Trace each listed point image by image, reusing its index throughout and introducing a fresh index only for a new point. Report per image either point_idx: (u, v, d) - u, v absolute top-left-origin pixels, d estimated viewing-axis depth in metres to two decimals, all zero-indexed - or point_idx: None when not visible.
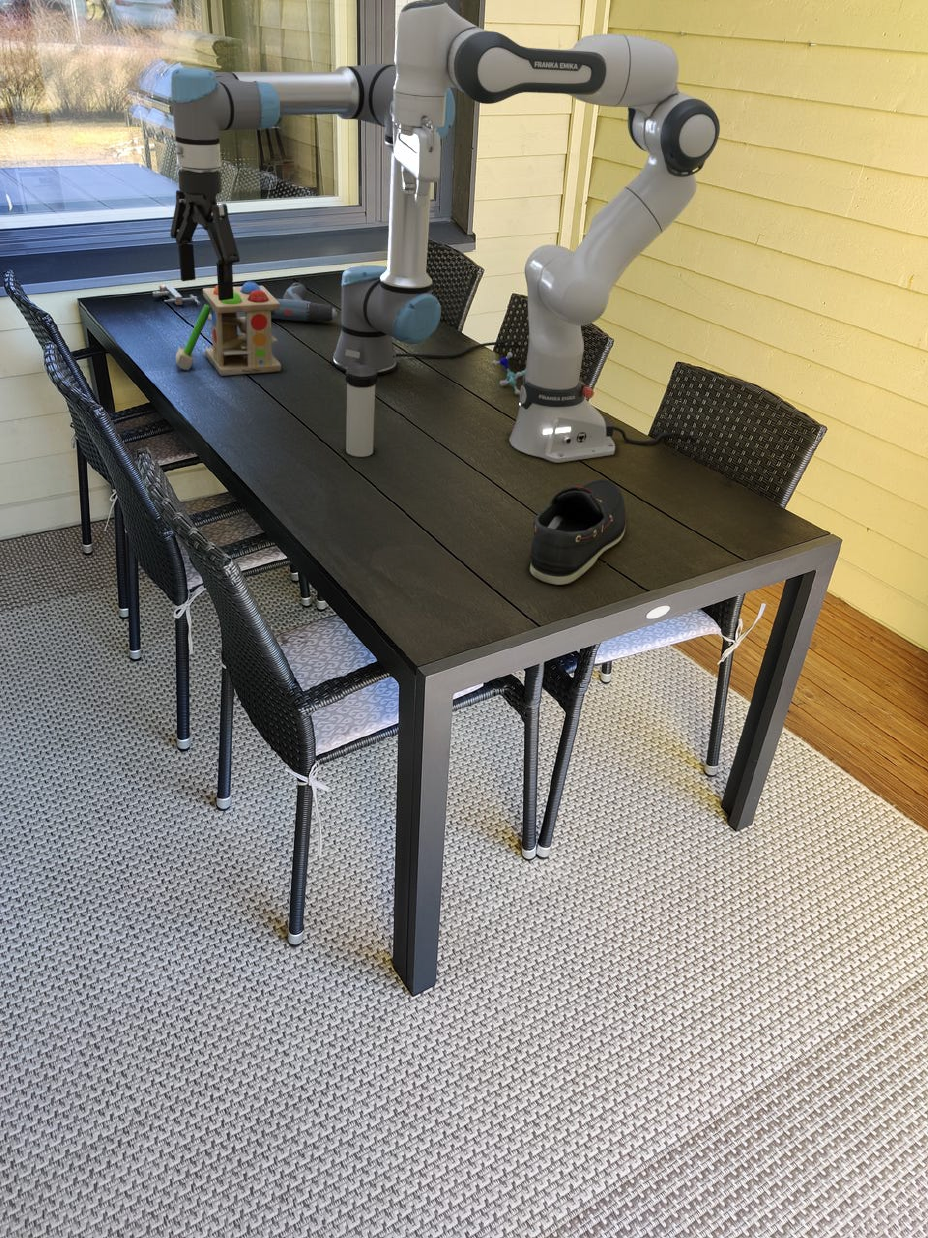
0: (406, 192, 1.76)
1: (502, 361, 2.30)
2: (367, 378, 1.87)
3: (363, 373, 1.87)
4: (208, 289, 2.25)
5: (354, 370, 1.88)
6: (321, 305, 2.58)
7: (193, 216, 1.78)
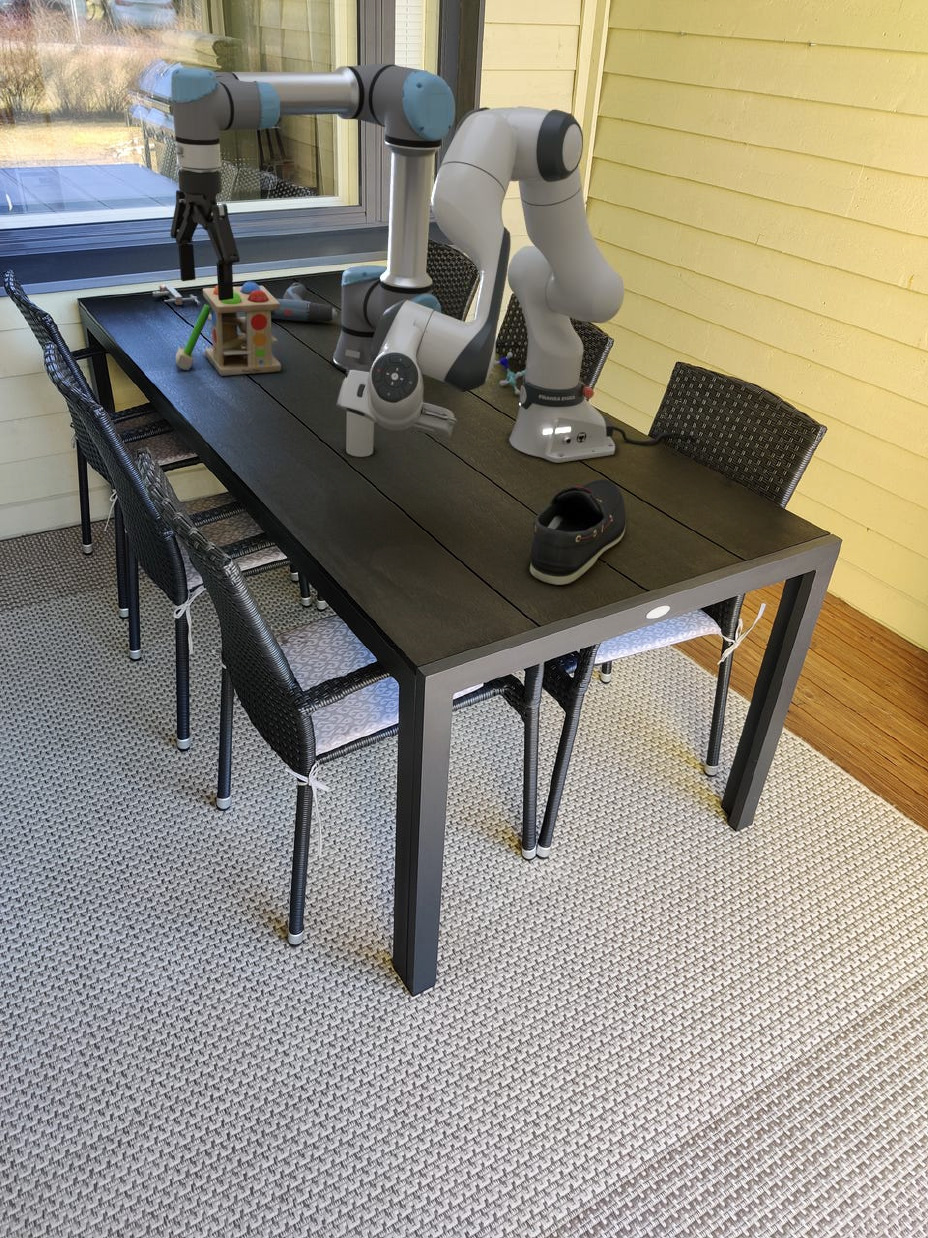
0: None
1: (502, 361, 2.30)
2: None
3: None
4: (208, 289, 2.25)
5: None
6: (321, 305, 2.58)
7: (193, 216, 1.78)
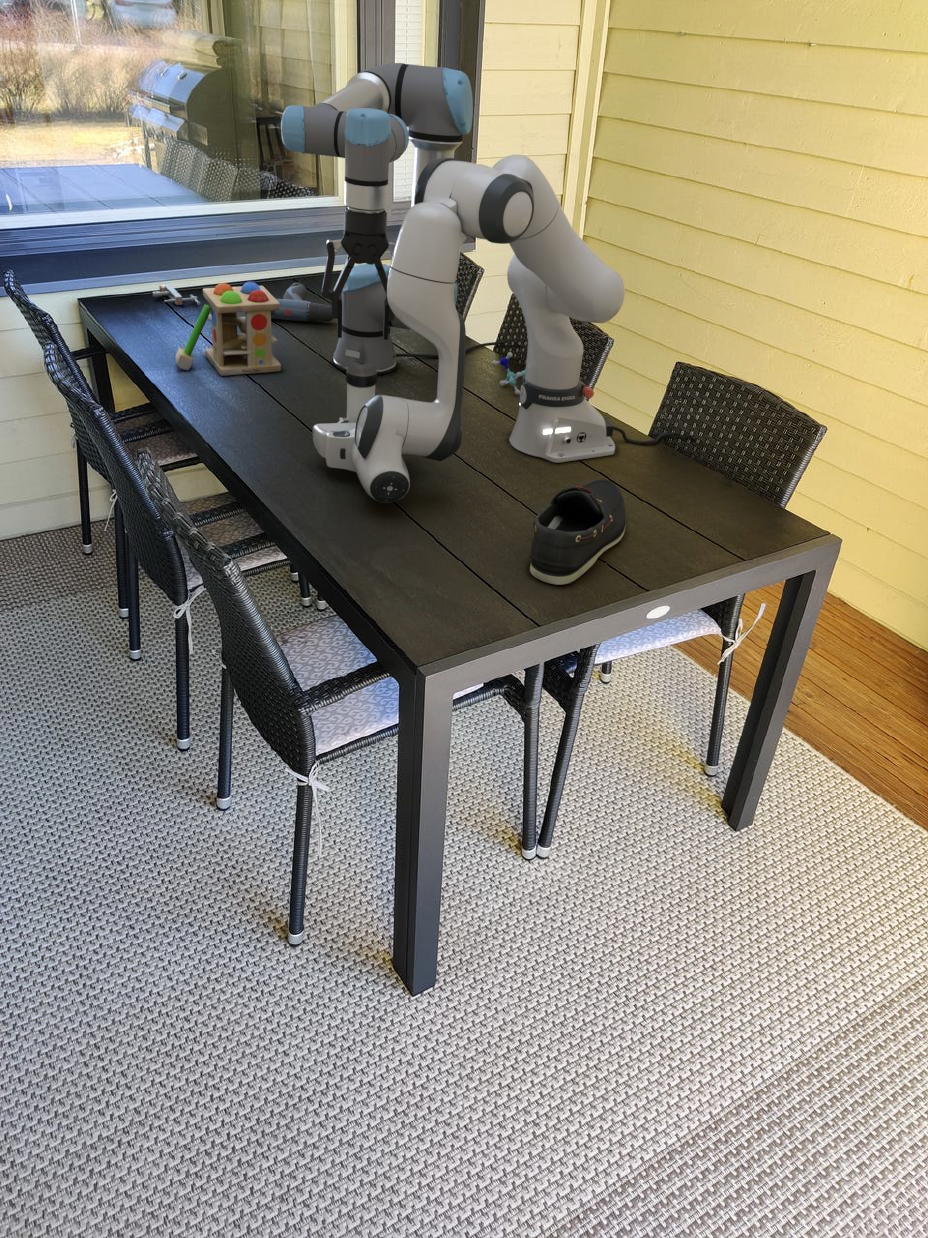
0: None
1: (502, 361, 2.30)
2: (367, 378, 1.87)
3: (363, 373, 1.87)
4: (208, 289, 2.25)
5: (354, 370, 1.88)
6: (321, 305, 2.58)
7: None
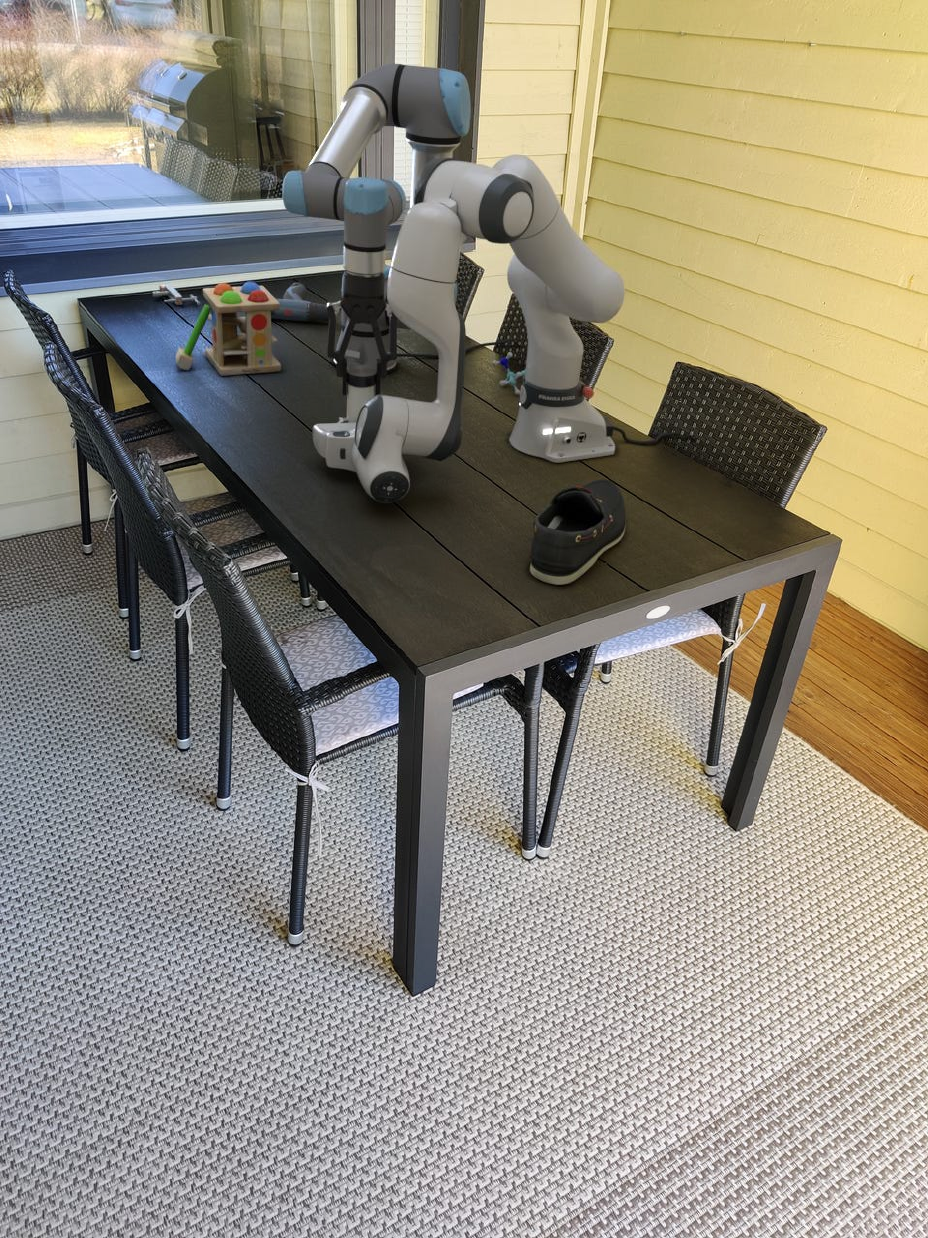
0: None
1: (502, 361, 2.30)
2: (367, 378, 1.87)
3: (363, 373, 1.87)
4: (208, 289, 2.25)
5: (354, 370, 1.88)
6: (321, 305, 2.58)
7: None
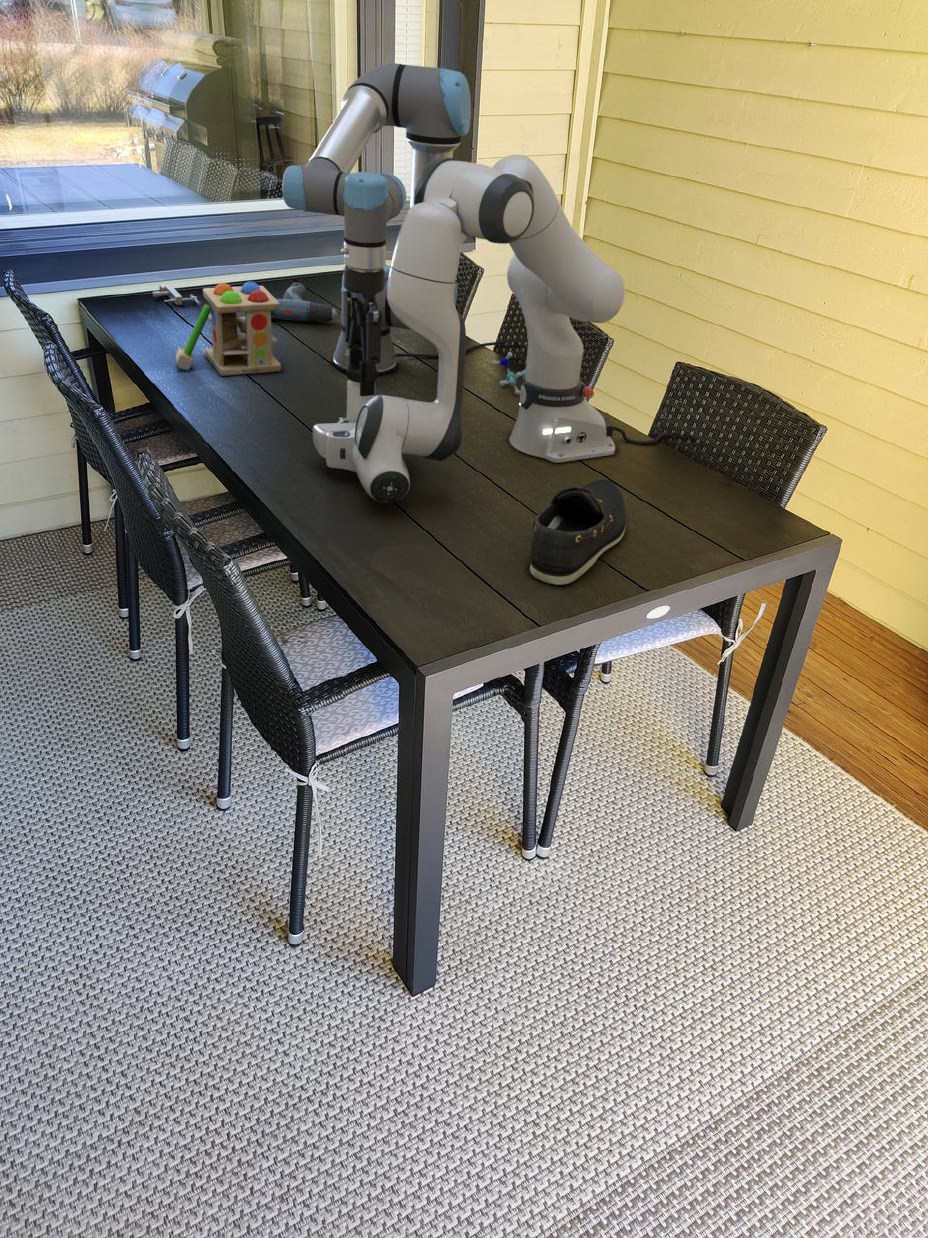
0: None
1: (502, 361, 2.30)
2: None
3: None
4: (208, 289, 2.25)
5: None
6: (321, 305, 2.58)
7: (355, 310, 1.83)
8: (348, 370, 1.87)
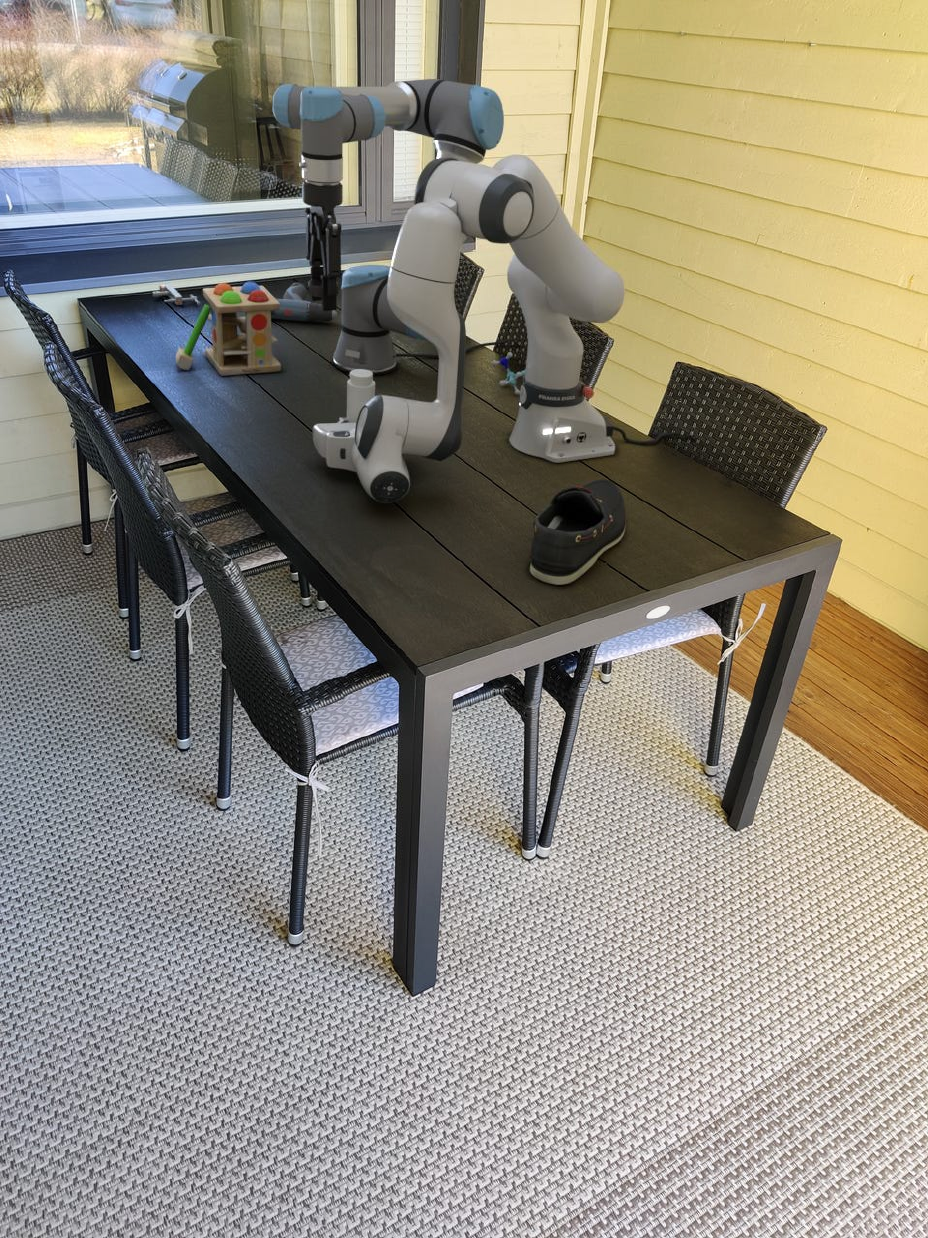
0: None
1: (502, 361, 2.30)
2: None
3: None
4: (208, 289, 2.25)
5: None
6: (321, 305, 2.58)
7: (315, 226, 1.88)
8: (310, 285, 1.93)
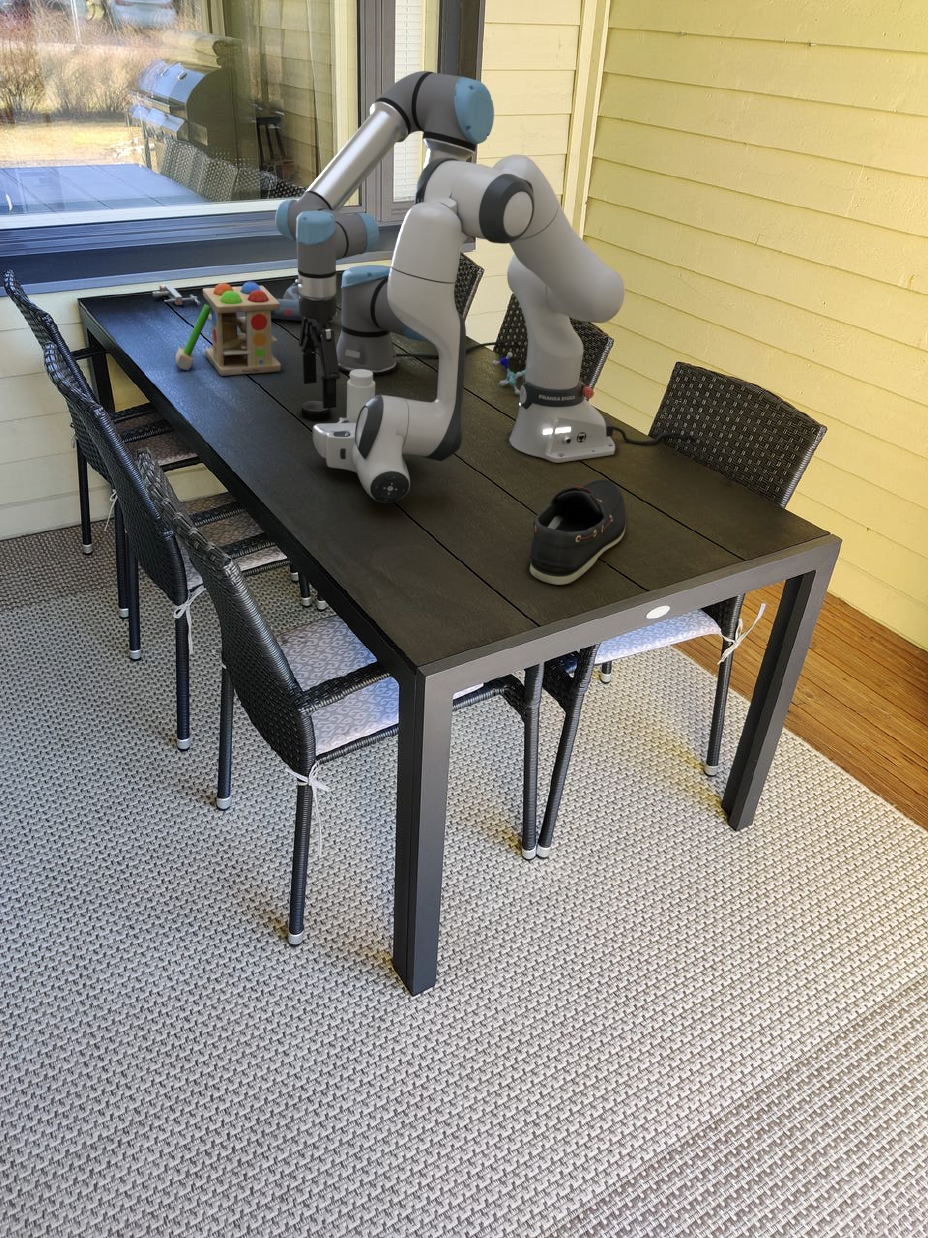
0: None
1: (502, 361, 2.30)
2: None
3: (321, 405, 2.10)
4: (208, 289, 2.25)
5: (317, 408, 2.08)
6: None
7: (311, 333, 2.02)
8: (303, 409, 2.08)
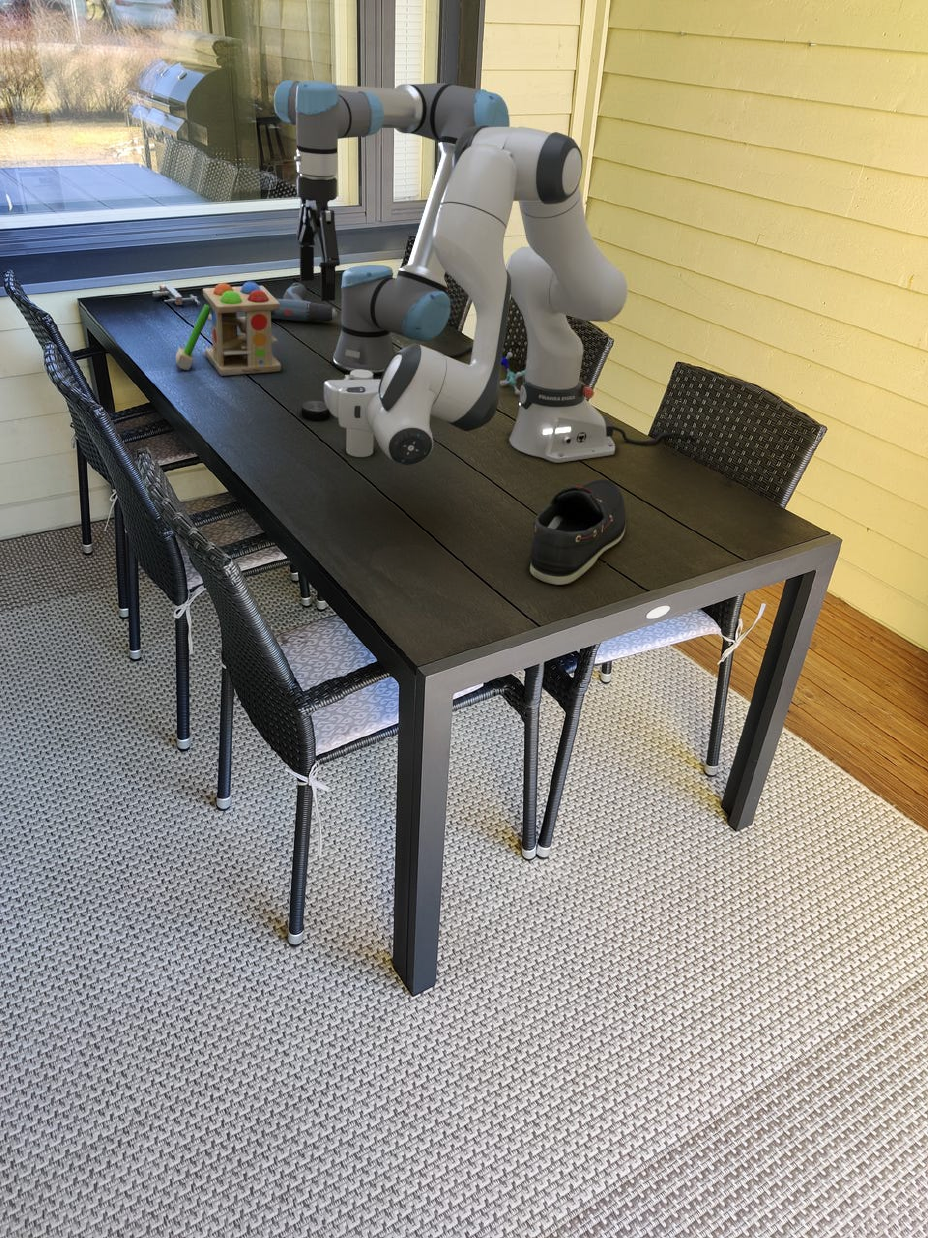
0: None
1: (502, 361, 2.30)
2: None
3: (321, 405, 2.10)
4: (208, 289, 2.25)
5: (317, 408, 2.08)
6: (321, 305, 2.58)
7: (309, 220, 1.89)
8: (303, 409, 2.08)
